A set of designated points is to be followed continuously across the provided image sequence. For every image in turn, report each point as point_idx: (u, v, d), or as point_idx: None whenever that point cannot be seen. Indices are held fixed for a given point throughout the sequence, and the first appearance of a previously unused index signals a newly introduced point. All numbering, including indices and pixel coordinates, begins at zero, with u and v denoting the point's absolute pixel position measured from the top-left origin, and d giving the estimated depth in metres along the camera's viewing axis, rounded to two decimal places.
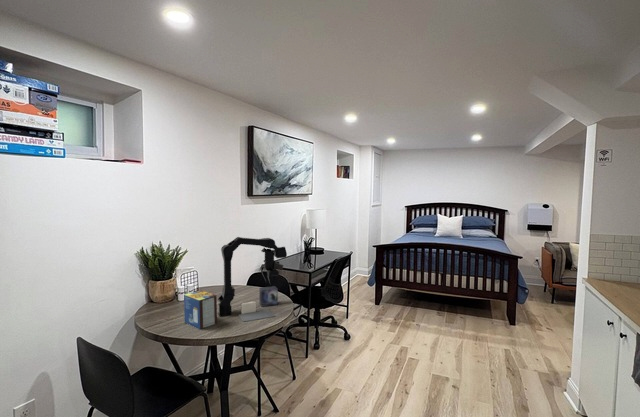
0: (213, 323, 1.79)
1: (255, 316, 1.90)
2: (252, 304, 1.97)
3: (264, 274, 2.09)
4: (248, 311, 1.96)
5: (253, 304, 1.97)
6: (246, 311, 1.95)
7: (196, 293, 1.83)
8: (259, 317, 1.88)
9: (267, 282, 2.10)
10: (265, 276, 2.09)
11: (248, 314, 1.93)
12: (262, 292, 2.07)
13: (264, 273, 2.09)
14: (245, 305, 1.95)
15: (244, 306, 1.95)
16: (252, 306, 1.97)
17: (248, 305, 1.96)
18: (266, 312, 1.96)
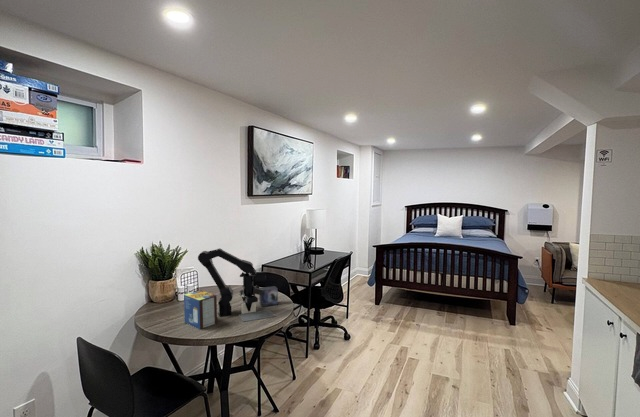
0: (213, 323, 1.79)
1: (255, 316, 1.90)
2: (252, 304, 1.97)
3: None
4: (248, 311, 1.96)
5: (253, 304, 1.97)
6: (246, 311, 1.95)
7: (196, 293, 1.83)
8: (259, 317, 1.88)
9: None
10: None
11: (248, 314, 1.93)
12: None
13: (245, 300, 1.97)
14: (245, 305, 1.95)
15: (244, 306, 1.95)
16: (252, 306, 1.97)
17: None
18: (266, 312, 1.96)
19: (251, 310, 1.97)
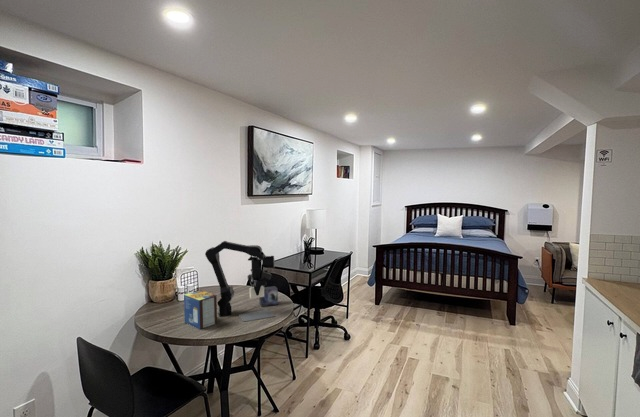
0: (213, 323, 1.79)
1: (255, 316, 1.90)
2: (261, 288, 1.95)
3: None
4: (257, 295, 1.94)
5: (262, 288, 1.95)
6: (255, 295, 1.93)
7: (196, 293, 1.83)
8: (259, 317, 1.88)
9: None
10: None
11: (248, 314, 1.93)
12: None
13: (253, 284, 1.95)
14: None
15: (253, 290, 1.92)
16: (261, 290, 1.95)
17: None
18: (266, 312, 1.96)
19: (259, 294, 1.94)
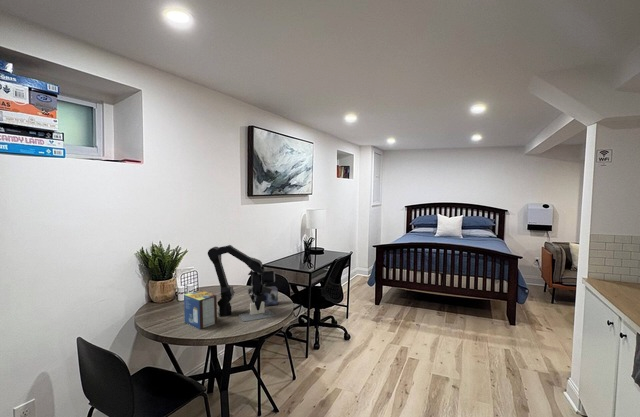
0: (213, 323, 1.79)
1: (255, 316, 1.90)
2: (261, 304, 1.95)
3: (253, 299, 1.96)
4: (257, 311, 1.94)
5: (262, 304, 1.95)
6: (255, 311, 1.94)
7: (196, 293, 1.83)
8: (259, 317, 1.88)
9: None
10: (254, 301, 1.96)
11: (248, 314, 1.93)
12: None
13: (253, 298, 1.96)
14: (254, 305, 1.93)
15: (253, 306, 1.93)
16: (261, 306, 1.95)
17: None
18: (266, 312, 1.96)
19: (260, 310, 1.95)
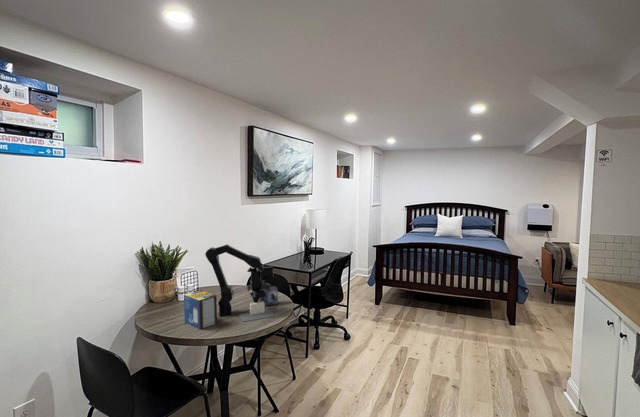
0: (213, 323, 1.79)
1: (255, 316, 1.90)
2: (261, 304, 1.95)
3: None
4: (257, 311, 1.94)
5: (262, 304, 1.95)
6: (255, 311, 1.93)
7: (196, 293, 1.83)
8: (259, 317, 1.88)
9: None
10: None
11: (248, 314, 1.93)
12: None
13: None
14: (254, 305, 1.93)
15: (253, 306, 1.93)
16: (261, 306, 1.95)
17: (257, 305, 1.94)
18: (266, 312, 1.96)
19: (260, 310, 1.95)
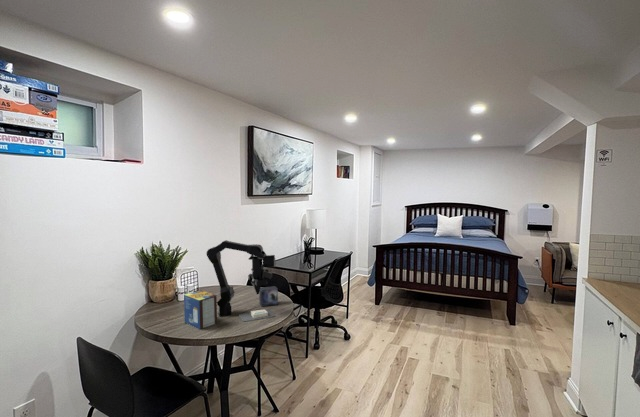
0: (213, 323, 1.79)
1: None
2: None
3: (254, 285, 1.93)
4: None
5: None
6: None
7: (196, 293, 1.83)
8: (259, 317, 1.88)
9: (258, 293, 1.93)
10: None
11: (248, 314, 1.93)
12: (262, 292, 2.07)
13: (254, 284, 1.93)
14: None
15: None
16: None
17: None
18: None
19: None
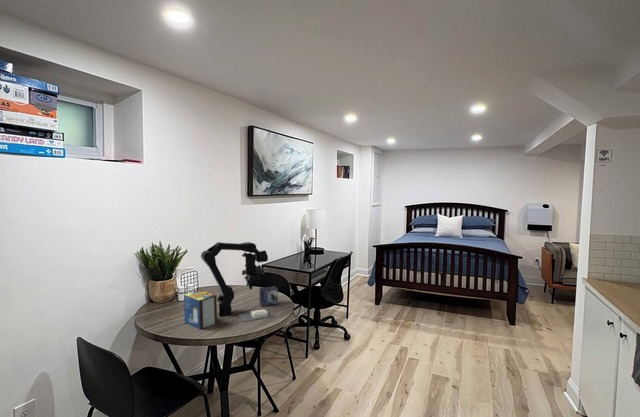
0: (213, 323, 1.79)
1: None
2: None
3: None
4: None
5: None
6: None
7: (196, 293, 1.83)
8: (259, 317, 1.88)
9: (251, 288, 2.03)
10: None
11: (248, 314, 1.93)
12: (262, 292, 2.07)
13: (247, 279, 2.03)
14: None
15: None
16: None
17: None
18: None
19: None
